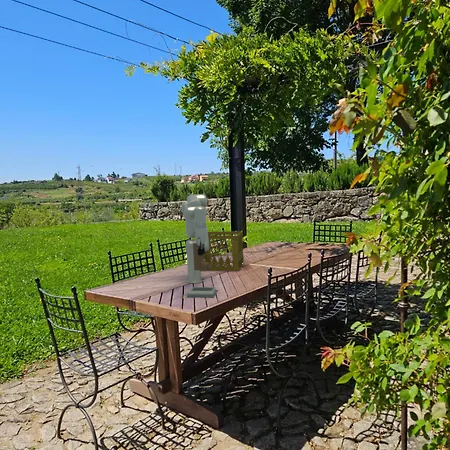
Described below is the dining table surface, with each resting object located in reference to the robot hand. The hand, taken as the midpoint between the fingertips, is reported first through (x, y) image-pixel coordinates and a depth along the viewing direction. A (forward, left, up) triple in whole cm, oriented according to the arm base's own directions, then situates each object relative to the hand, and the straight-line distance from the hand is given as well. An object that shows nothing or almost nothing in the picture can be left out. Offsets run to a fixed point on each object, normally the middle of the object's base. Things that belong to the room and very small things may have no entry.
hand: (201, 254), depth 254 cm
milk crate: (-92, -3, -27) cm, 96 cm away
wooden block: (0, 0, -11) cm, 11 cm away
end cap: (0, 0, -26) cm, 26 cm away
